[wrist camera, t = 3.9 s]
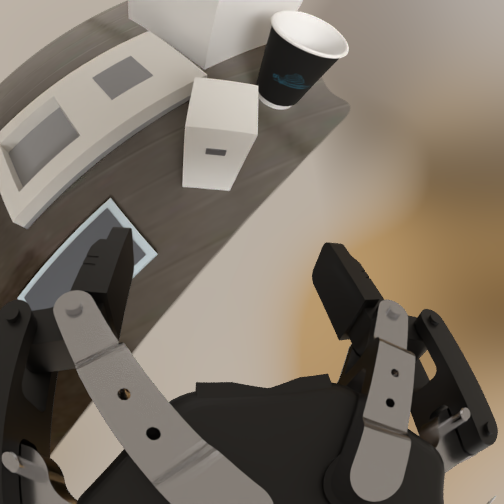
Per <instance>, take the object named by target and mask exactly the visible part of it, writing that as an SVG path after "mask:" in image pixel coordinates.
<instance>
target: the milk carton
mask: <svg viewBox="0 0 504 504" xmlns="http://www.w3.org/2000/svg"><path fill="white" fill-rule="evenodd" d="M302 1H303V0H128V16H129V19H131V20H132V21H134V22H136V23H137V24H139V25H141V26H142V27H144V28H145V29H147V30H149V31H150V32H152V33H153V34H155V35H156V36H158V37H159V38H161V39H162V40H164V41H165V42H167V43H168V44H170V45H171V46H173V47H174V48H175V49H177V50H178V51H180V52H181V53H182V54H184V55H185V56H187V57H188V58H189V59H191V60H192V61H193V62H195V63H196V64H197V65H199V66H200V67H201V68H202V69H204V70H205V69H207V68H209V67H211V66H213V65H216V64H218V63H220V62H222V61H225V60H227V59H229V58H232V57H234V56H236V55H239V54H241V53H244V52H247V51H249V50H252V49H254V48H257V47H260V46H263V45H266V44H267V41H268V37H269V34H270V30H271V26H272V25H271V17H272V16H273V14H275V13H276V12H279V11H284V10H293V11H298V8H299V7H300V5H301V3H302Z"/></svg>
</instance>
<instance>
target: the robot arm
mask: <svg viewBox="0 0 504 504" xmlns="http://www.w3.org/2000/svg"><path fill="white" fill-rule="evenodd" d="M133 273H134V252H133V236H132V229H131V228H125V227H113V228H112V229H111V231H110V233H109V235H108V237H107V239H99V240H98V241H97V242H95V243H94V244H93V245H92V246H91V247H90V249H89V251H88V253H87V255H86V257H85V259H84V261H83V265H82V266H81V268H80V270H79V272H78V274H77V276H76V279H75V281H74V283H73V285H72V288H71V290H70V292H67V293H65V294H63V295H62V296H60V297H59V298H58V299H57V301H56V302H55V305H54V307H51V308H46V309H40V310H34V311H32V310H31V308H30V306H29V304H28V303H27V302H25V301H23V300H13V301H11V302H9V303H7V304H6V305H5V306H3V308H2V309H1V310H0V504H444V500H443V486H444V475H445V473H446V472H447V471H449V470H450V469H452V468H453V467H454V466H456V465H457V464H459V463H461V462H463V461H465V460H467V459H469V458H471V457H473V456H474V455H476V454H477V453H478V452H480V451H482V450H483V449H485V448H487V447H488V446H490V445H492V444H493V443H494V442H495V441H496V438H497V433H498V430H497V424H496V422H495V419H494V417H493V414H492V412H491V410H490V407H489V405H488V403H487V401H486V398H485V396H484V394H483V392H482V390H481V388H480V385H479V384H478V381H477V380H476V377H475V375H474V373H473V372H472V370H471V368H470V366H469V364H468V362H467V360H466V359H465V357H464V355H463V353H462V352H461V350H460V348H459V346H458V344H457V343H456V341H455V339H454V338H453V336H452V334H451V333H450V331H449V330H448V328H447V326H446V325H445V323H444V321H443V320H442V318H441V317H440V316H439V315H438V314H437V313H435V312H434V311H432V310H429V309H424V310H423V311H422V312H421V313H420V315H419V316H418V317H417V318H416V317H412V316H408V315H407V313H406V311H405V310H404V309H403V307H402V306H400V305H399V304H398V303H396V302H394V301H391V300H384V299H383V297H382V296H381V294H380V293H379V291H378V289H377V288H376V286H375V285H374V284H373V282H372V281H371V279H369V276H368V274H367V273H366V272H365V270H364V269H363V267H362V266H361V264H360V263H359V262H358V261H357V260H356V259H354V258H353V257H352V256H351V255H350V254H349V252H348V251H347V249H346V248H345V247H344V245H343V244H338V243H325V244H324V245H323V247H322V250H321V252H320V255H319V257H318V260H317V262H316V264H315V267H314V269H313V274H312V280H313V284H314V286H315V288H316V290H317V293H318V295H319V297H320V299H321V301H322V303H323V305H324V308H325V310H326V312H327V314H328V316H329V319H330V321H331V323H332V325H333V328H334V330H335V332H336V334H337V337H338V339H339V340H346V339H350V340H351V342H352V344H351V346H350V347H349V350H348V353H347V356H346V360H345V363H344V366H343V369H342V372H341V375H340V378H339V380H338V382H337V384H336V383H331V381H330V378H329V376H328V374H323V375H316V376H308V377H300V378H297V379H294V380H292V381H289V382H286V383H283V384H281V385H278V386H275V387H272V388H262V387H255V386H249V385H244V384H238V383H233V382H224V383H223V382H220V383H198V382H197V383H196V391H195V392H191V393H187V394H185V395H182V396H179V397H177V398H175V399H173V400H171V401H170V402H168V401H167V400H166V398H165V397H164V396H163V395H162V393H161V392H160V391H159V390H158V389H157V387H156V386H155V385H154V383H153V382H152V381H151V380H150V378H149V377H148V376H147V374H146V373H145V372H144V370H143V369H142V368H141V366H140V365H139V364H138V362H137V361H136V359H135V358H134V357H133V355H132V354H131V352H130V351H129V349H128V348H127V347H126V345H125V344H124V343H119V342H118V341H119V338H120V333H121V327H122V322H123V317H124V312H125V308H126V303H127V299H128V294H129V290H130V286H131V282H132V278H133ZM427 349H428V351H429V353H430V355H431V357H432V359H433V361H434V363H435V365H436V368H437V372H436V375H435V376H434V378H433V379H431V380H429V378H428V376H427V374H426V372H425V370H424V368H423V366H422V364H421V362H420V360H419V358H420V357H421V356H422V355H423V354H424V353H425V352H426V350H427ZM74 368H76V370H77V372H78V374H79V376H80V378H81V380H82V382H83V384H84V386H85V388H86V389H87V391H88V393H89V395H90V397H91V398H92V400H93V402H94V404H95V405H96V407H97V409H98V410H99V412H100V413H101V415H102V417H103V418H104V420H105V421H106V423H107V424H108V426H109V427H110V429H111V431H112V432H113V433H114V435H115V436H116V438H117V439H118V441H119V442H120V443H121V445H122V446H123V448H124V450H123V451H122V452H121V453H120V454H119V456H118V457H117V458H116V459H115V460H114V461H113V462H112V463H111V464H110V466H109V467H108V468H107V469H106V470H105V471H104V472H103V473H102V474H101V475H100V476H99V477H98V478H97V479H96V480H95V482H94V483H93V484H92V485H91V486H90V487H89V488H88V489H87V490H86V491H85V492H84V493H83V494H82V495H81V496H80V498H79V499H78V501H77V500H76V499H75V498H74V497H73V496H72V495H71V494H70V492H69V491H68V489H67V487H66V484H65V480H64V476H63V473H62V471H61V469H60V467H59V466H58V465H57V463H56V462H54V461H53V460H52V459H51V458H50V437H51V422H52V412H53V403H54V395H55V388H56V381H57V375H58V371H60V370H67V369H74ZM410 411H411V414H412V417H413V419H414V422H415V425H416V427H417V430H418V433H419V436H418V435H416V434H415V433H413V432H412V431H411V430H409V429H408V423H409V417H410Z"/></svg>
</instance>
